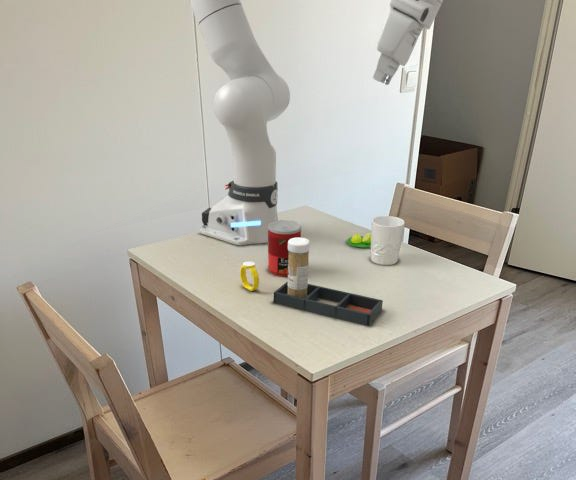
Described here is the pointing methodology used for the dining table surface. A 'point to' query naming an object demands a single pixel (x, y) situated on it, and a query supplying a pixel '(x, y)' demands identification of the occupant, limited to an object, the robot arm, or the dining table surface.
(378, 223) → the white cup
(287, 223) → the canned food
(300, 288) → the sprinkles bottle
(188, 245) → the dining table surface
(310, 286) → the compartment tray
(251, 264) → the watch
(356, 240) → the green plate with lemons
